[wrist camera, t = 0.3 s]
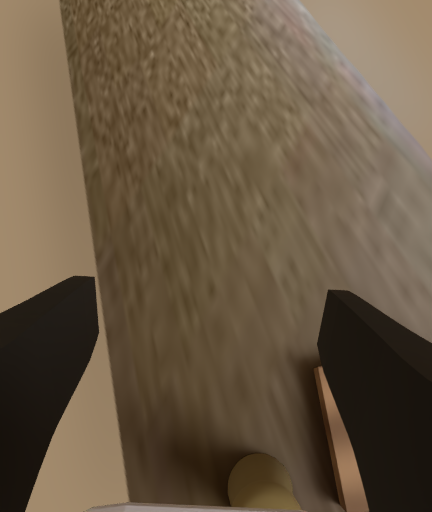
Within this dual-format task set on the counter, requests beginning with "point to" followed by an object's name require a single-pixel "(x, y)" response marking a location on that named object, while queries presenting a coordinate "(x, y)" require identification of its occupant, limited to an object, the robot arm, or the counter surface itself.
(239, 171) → the counter surface
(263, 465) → the olive rounded piece
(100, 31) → the counter surface
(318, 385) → the tan flat block
